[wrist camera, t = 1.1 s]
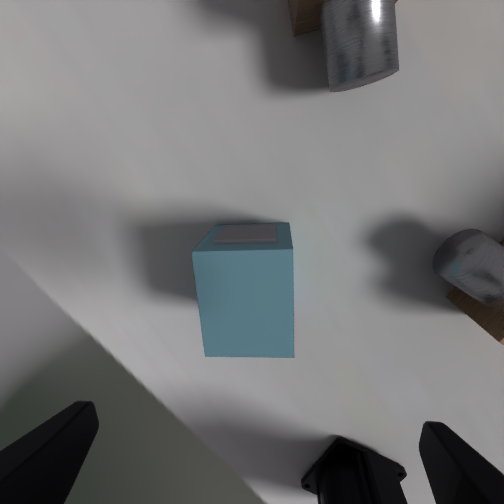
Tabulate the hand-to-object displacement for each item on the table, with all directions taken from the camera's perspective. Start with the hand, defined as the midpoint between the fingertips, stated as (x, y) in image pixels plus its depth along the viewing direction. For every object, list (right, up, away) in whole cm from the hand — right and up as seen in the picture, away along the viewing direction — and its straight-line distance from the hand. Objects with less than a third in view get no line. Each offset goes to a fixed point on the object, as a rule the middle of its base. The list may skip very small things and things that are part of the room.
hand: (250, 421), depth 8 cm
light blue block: (0, +4, +12) cm, 12 cm away
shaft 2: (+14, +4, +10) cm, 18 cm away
